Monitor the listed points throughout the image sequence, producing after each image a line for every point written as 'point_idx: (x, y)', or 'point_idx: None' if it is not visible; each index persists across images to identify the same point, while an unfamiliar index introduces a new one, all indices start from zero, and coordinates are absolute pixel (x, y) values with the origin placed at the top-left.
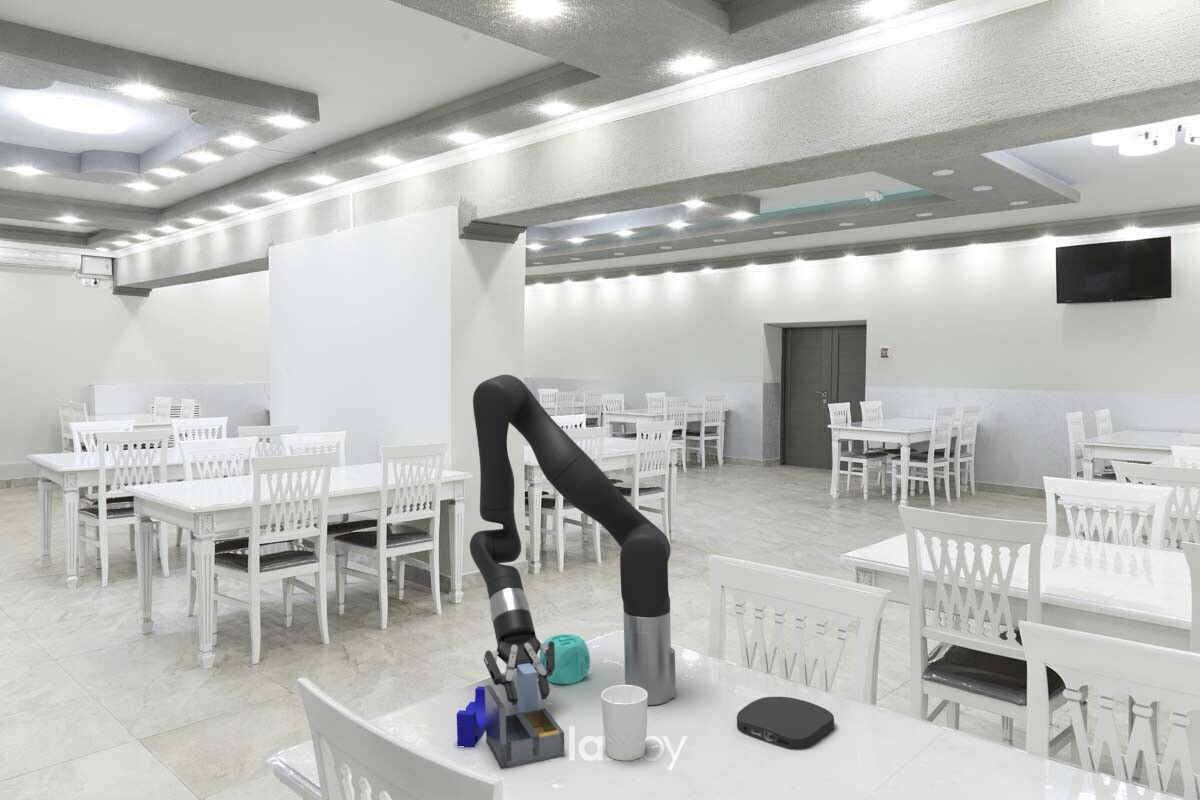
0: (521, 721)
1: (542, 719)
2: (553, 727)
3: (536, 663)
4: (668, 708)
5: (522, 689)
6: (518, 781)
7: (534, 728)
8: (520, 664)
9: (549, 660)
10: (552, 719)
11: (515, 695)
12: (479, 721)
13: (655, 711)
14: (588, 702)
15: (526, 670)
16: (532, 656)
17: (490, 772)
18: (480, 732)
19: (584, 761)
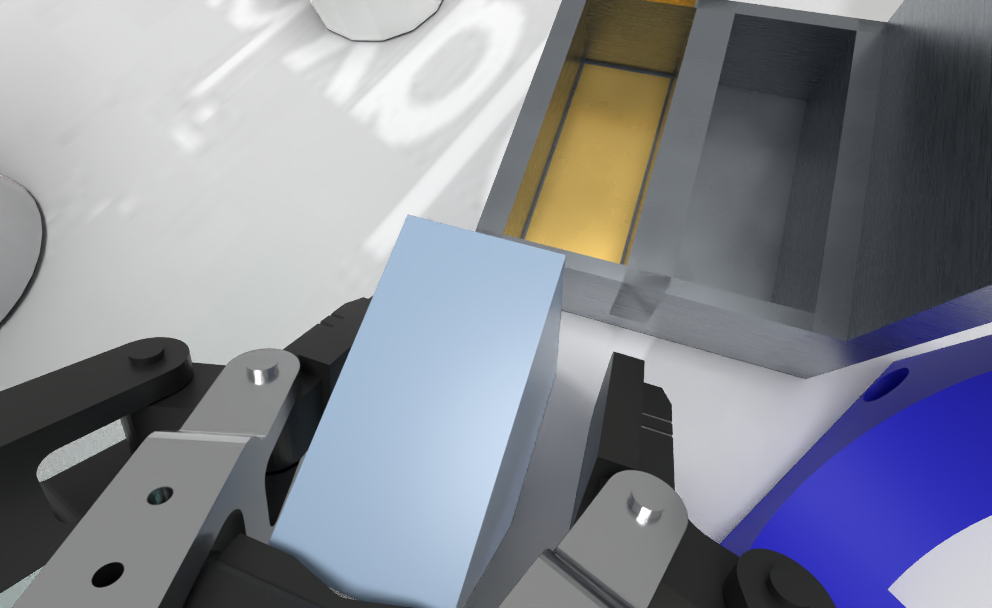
0: (690, 181)
1: None
2: (564, 68)
3: (234, 435)
4: (15, 140)
5: (541, 379)
6: None
7: None
8: (395, 601)
9: (58, 411)
10: (529, 108)
11: (624, 368)
12: (805, 557)
13: (63, 149)
14: None
15: (469, 338)
16: (162, 537)
17: None
18: (836, 438)
19: (533, 7)
